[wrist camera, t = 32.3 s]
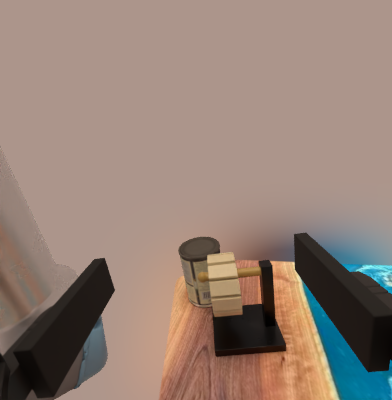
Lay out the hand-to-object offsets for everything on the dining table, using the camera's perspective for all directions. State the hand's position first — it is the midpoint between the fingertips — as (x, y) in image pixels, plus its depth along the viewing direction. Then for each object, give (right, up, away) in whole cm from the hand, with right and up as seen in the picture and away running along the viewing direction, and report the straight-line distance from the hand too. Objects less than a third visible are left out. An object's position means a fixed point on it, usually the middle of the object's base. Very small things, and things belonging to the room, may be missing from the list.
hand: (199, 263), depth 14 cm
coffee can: (+3, -21, +41) cm, 46 cm away
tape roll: (+5, -12, +26) cm, 29 cm away
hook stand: (+10, -23, +29) cm, 38 cm away
